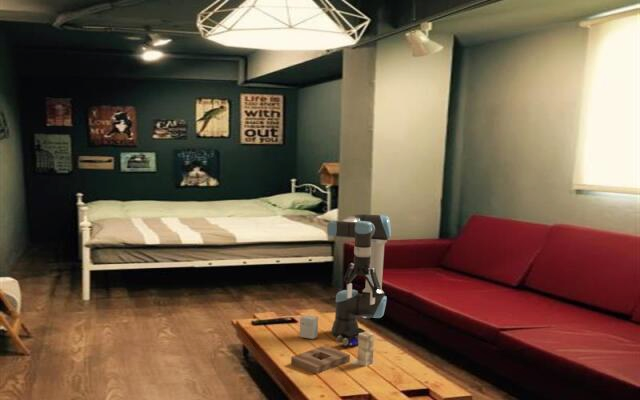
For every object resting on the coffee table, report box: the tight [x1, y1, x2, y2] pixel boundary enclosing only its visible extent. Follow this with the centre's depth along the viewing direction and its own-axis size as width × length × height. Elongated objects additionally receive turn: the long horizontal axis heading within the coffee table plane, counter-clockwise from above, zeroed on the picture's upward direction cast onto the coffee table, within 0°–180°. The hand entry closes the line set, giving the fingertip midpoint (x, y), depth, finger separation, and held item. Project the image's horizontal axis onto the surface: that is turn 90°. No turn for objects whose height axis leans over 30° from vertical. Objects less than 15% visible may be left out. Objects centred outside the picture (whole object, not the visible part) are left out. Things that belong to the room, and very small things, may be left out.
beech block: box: [357, 330, 375, 367], centre depth 265 cm, size 5×5×14 cm
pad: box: [350, 359, 378, 366], centre depth 266 cm, size 10×10×1 cm
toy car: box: [335, 327, 368, 349], centre depth 290 cm, size 7×8×15 cm
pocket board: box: [290, 345, 351, 375], centre depth 265 cm, size 22×16×4 cm
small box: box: [299, 314, 319, 340], centre depth 301 cm, size 8×6×10 cm
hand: (360, 300), depth 265 cm, fingers open, 13 cm apart
